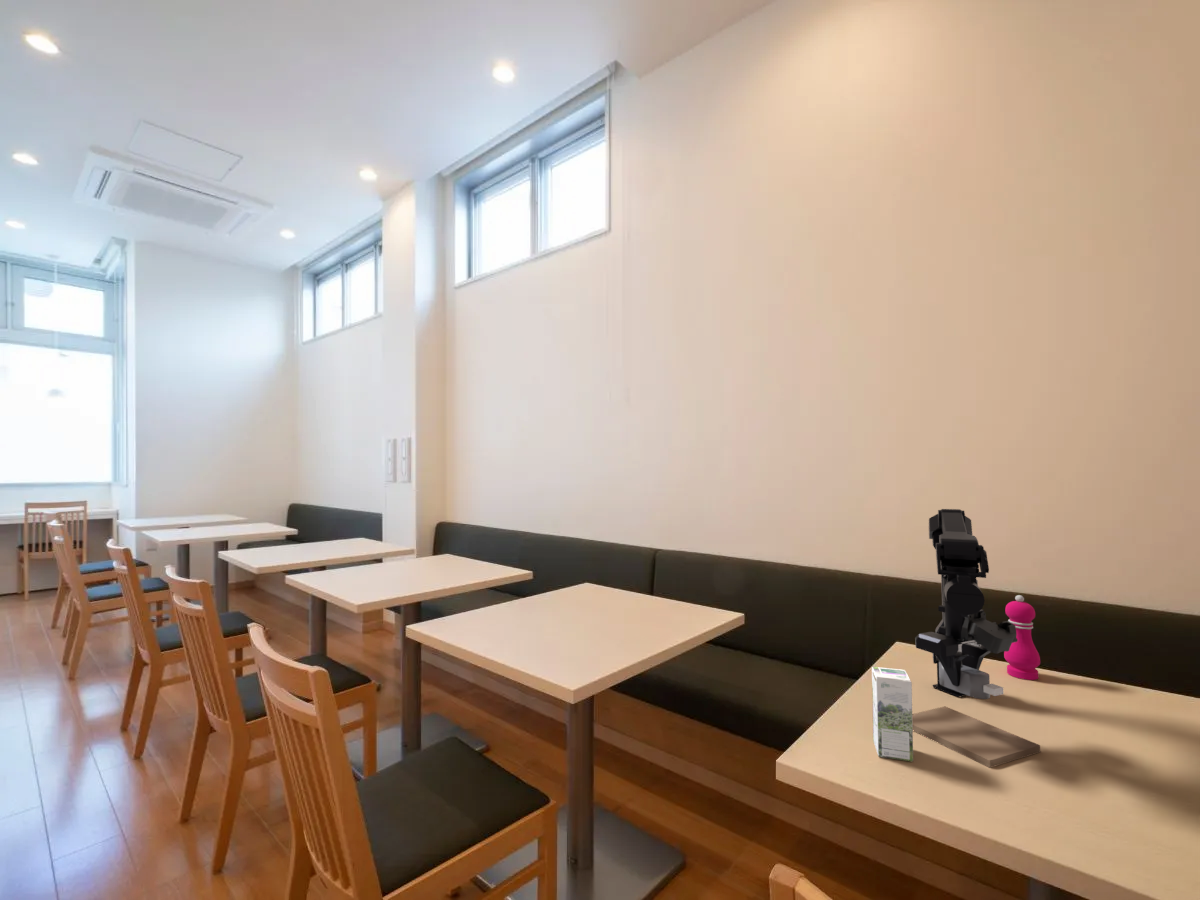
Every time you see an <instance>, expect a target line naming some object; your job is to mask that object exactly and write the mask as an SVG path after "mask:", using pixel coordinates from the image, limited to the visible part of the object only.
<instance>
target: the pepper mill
mask: <svg viewBox="0 0 1200 900" xmlns="http://www.w3.org/2000/svg"><path fill="white" fill-rule="evenodd" d="M1014 599H1015V600H1012V601H1010V602H1009V601H1008V603H1007V604H1006V605H1005V615H1006V616H1007V617H1008V618H1009V619H1008V620H1007V621H1009V622H1010V623H1012V624H1014V625H1015V627H1016V634H1017V636H1016V638H1017V640H1018V641H1017V642H1014V643H1012V644H1011V646H1010V649H1009V651H1007V652H1006V651H1003V657H1004V659H1005V661H1006V662H1007V663H1008V665H1006V673H1007V675H1008V676H1010V677H1013V678H1017V679H1019V680H1025V681H1026V680H1027V681H1035V680H1038V679H1039V676H1040V675H1039V670H1038V669H1037V667H1039V666H1040V665H1041V656H1040V653H1039V652H1038V650H1037V648H1036V645H1035V643H1034V641H1033V638H1032V629H1034V622H1032V621H1033V620H1034V619H1035V618H1036V611H1035V608H1034V607H1033V606H1032V605H1031V604H1030V603H1028V602H1027V601H1025V597H1024V596H1023V595H1020V594H1018V595H1015V597H1014Z"/></svg>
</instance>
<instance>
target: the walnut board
mask: <svg viewBox="0 0 1200 900" xmlns="http://www.w3.org/2000/svg"><path fill="white" fill-rule="evenodd" d="M912 727H913V730H914V731H913V732H915V731H916V732H915V733H917V732H918V733H917V734H919V733H920V734H919V735H921V734H922V735H921V736H923V735H924V736H923V737H925V736H926V737H925V738H927V737H928V738H927V739H929V740H931V739H932V740H931V741H933V740H934V742H935V741H936V743H937V742H938V744H939V745H942V746H943V747H946V748H948V749H950V750H952V751H954V752H957V753H958V754H961V755H963V757H964V756H965V757H966V758H969V759H971V760H973V761H974V762H977V763H979V764H981V765H984V766H986V767H988V768H994V767H997V766H999V765H1003V764H1006V763H1010V762H1012V761H1015V760H1016V761H1017V760H1019V759H1022V758H1025V757H1029V756H1031V755H1035V754H1038V753H1041V745H1040V744H1039V743H1035V742H1033V741H1031V740H1028V739H1026V738H1023V737H1021V736H1019V735H1016V734H1013V733H1011V732H1008V731H1006V730H1004V729H1001V728H999V727H997V726H994V725H992V724H989V723H987V722H984V721H982V720H979V719H977V718H975V717H972V716H970V715H967V714H965V713H963V712H960V711H958V710H955V709H953V708H951V707H948V706H941V707H936V708H931V709H927V710H922V711H919V712H914V713H912Z"/></svg>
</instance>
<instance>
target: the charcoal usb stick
mask: <svg viewBox="0 0 1200 900" xmlns="http://www.w3.org/2000/svg"><path fill="white" fill-rule="evenodd" d="M939 682H940V685H942V686H944V687H947V688H949V689H952V690H955V691H957V692H960V693H963V694H965V695H966V696H969V697H970V698H971V697H972V698H975V699H980V700H988V699H991V696H993V697H996V696H1001V695H1004V687H1003V686H1000V685H997V684H994V683H990V682H991V681H990V674H989V673H987V672H985V671H982V670H980V669H979V670H977V669H974V668H971V667H968V666H965V665H961V675H960V684H959V686H958V687H957V686H954V685H953V684H952V683H951V681H950V679H949V677H948V675H947V673H946V672H945V670H944V668H943V666H942V664H941V662H939Z"/></svg>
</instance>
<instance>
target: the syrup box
mask: <svg viewBox="0 0 1200 900" xmlns="http://www.w3.org/2000/svg"><path fill="white" fill-rule="evenodd" d="M912 687H913V683H912V681H911V679H910V677H909V675H908V673H907V671H906V669H899V668H891V667H890V668H888V667H879V666H872V667H871V692H872V694H871V695H872V698H871V699H872V738H873V740H872V741H873V744H874V747H875V751H876V753H877V756H878V757H880V758H886V759H891V760H892V759H893V760H898V761H906V762H914V741H913V740H914V737H913V736H914V734H913V733H914V731H913V727H912V714H913V688H912Z"/></svg>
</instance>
